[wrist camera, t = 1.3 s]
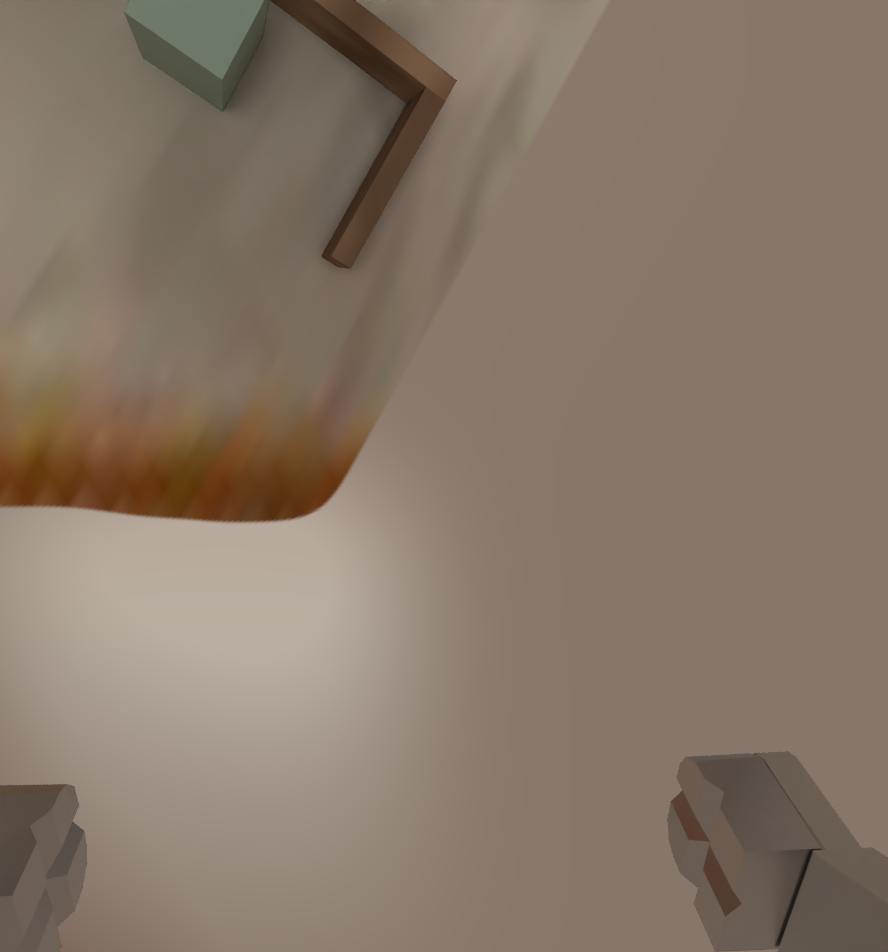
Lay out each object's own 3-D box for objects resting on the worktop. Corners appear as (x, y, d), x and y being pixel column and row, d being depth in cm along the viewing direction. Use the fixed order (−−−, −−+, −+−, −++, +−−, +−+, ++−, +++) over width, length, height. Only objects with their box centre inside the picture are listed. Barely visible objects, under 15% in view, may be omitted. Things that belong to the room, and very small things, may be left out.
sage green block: (143, 58, 39) (123, 12, 32) (184, -22, 39) (174, -87, 31) (222, 111, 41) (222, 79, 33) (262, 36, 40) (271, -13, 33)
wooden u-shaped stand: (-84, 0, 36) (-124, -33, 32) (22, -220, 35) (-6, -285, 31) (339, 267, 45) (350, 268, 40) (434, 97, 44) (456, 80, 39)
